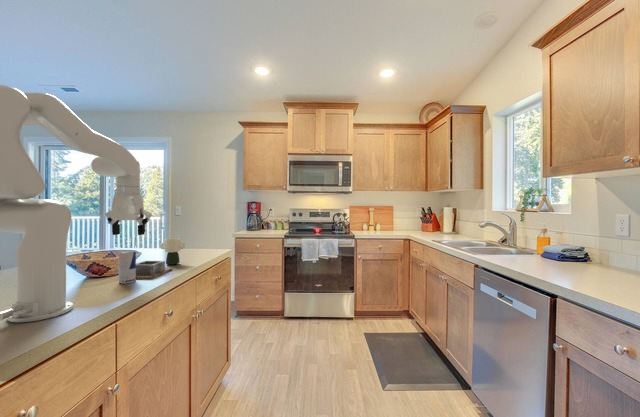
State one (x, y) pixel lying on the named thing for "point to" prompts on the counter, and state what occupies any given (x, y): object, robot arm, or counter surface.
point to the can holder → (150, 269)
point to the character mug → (172, 250)
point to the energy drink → (127, 267)
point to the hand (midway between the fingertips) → (128, 234)
